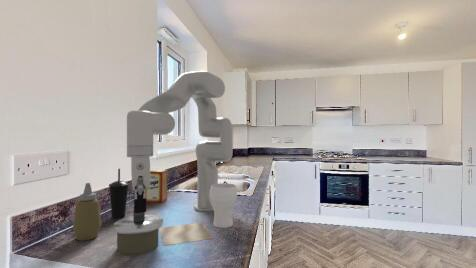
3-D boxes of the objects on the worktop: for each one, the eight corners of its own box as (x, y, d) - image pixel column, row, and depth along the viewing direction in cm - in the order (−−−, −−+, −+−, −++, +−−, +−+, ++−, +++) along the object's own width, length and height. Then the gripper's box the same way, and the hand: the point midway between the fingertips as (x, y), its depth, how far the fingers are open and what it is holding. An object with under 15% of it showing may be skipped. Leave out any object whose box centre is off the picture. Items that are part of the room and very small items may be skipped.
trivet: (202, 223, 98) (202, 222, 98) (214, 239, 83) (214, 238, 83) (159, 228, 92) (159, 227, 92) (163, 246, 77) (163, 245, 77)
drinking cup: (120, 220, 101) (121, 170, 101) (103, 219, 102) (104, 169, 103) (132, 214, 108) (132, 167, 109) (116, 213, 110) (117, 167, 110)
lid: (161, 216, 86) (161, 198, 86) (164, 230, 73) (165, 209, 73) (115, 220, 81) (115, 201, 81) (110, 237, 68) (110, 214, 68)
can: (140, 260, 69) (141, 235, 69) (106, 253, 73) (106, 229, 73) (166, 243, 80) (167, 221, 80) (136, 238, 84) (136, 217, 84)
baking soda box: (167, 199, 134) (167, 169, 134) (161, 202, 128) (161, 171, 128) (150, 198, 136) (150, 168, 136) (144, 201, 129) (144, 170, 129)
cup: (240, 222, 100) (241, 184, 100) (231, 231, 90) (231, 189, 90) (216, 219, 104) (216, 182, 104) (204, 227, 93) (204, 187, 94)
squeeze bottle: (81, 233, 88) (81, 181, 88) (105, 232, 88) (105, 180, 88) (67, 243, 79) (68, 185, 80) (94, 242, 80) (94, 185, 80)
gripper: (154, 153, 70) (154, 215, 70) (151, 149, 86) (151, 199, 86) (125, 154, 67) (125, 218, 68) (128, 150, 84) (128, 201, 84)
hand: (140, 207), depth 77 cm, fingers open, 9 cm apart
